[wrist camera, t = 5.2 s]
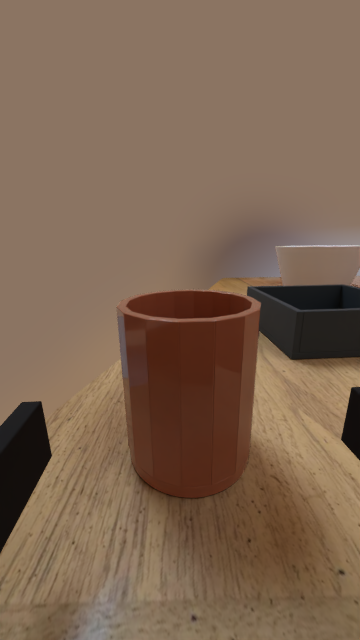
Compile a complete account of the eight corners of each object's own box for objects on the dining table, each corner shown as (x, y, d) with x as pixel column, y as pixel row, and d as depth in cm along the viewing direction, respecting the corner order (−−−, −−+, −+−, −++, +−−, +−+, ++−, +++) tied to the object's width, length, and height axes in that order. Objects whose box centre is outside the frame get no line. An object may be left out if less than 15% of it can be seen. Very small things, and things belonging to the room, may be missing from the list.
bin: (291, 359, 30) (297, 311, 28) (245, 318, 47) (247, 286, 45) (433, 353, 31) (446, 307, 29) (338, 315, 48) (343, 284, 46)
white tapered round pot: (328, 281, 89) (334, 245, 85) (385, 294, 66) (396, 245, 62) (260, 283, 87) (263, 246, 84) (294, 296, 64) (299, 247, 61)
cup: (121, 503, 14) (102, 324, 11) (136, 410, 21) (128, 290, 18) (268, 493, 14) (288, 318, 11) (231, 405, 22) (237, 288, 19)
